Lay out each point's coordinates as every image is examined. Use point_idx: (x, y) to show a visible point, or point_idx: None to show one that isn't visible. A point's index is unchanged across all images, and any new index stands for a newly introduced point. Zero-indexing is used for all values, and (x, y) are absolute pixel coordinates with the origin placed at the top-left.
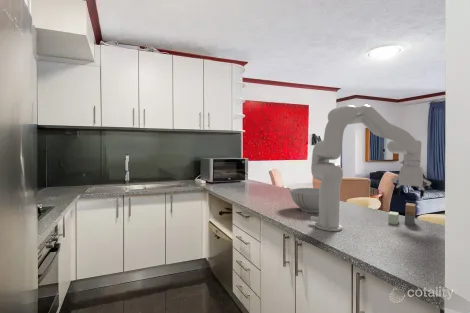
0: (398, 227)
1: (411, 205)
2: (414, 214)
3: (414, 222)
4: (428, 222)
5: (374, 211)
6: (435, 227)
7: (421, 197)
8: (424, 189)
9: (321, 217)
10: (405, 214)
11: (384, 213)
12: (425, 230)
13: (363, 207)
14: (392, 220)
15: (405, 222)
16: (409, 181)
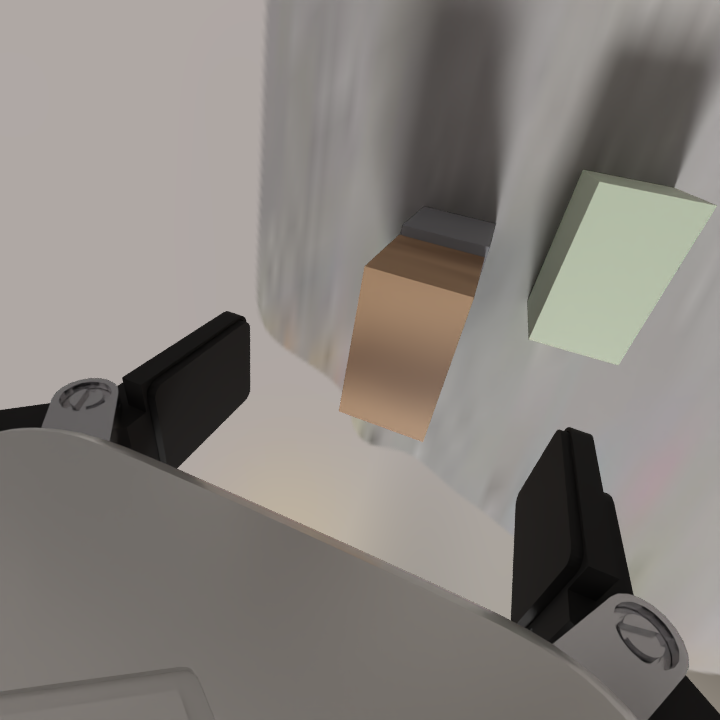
0: (620, 13)
1: (399, 293)
2: (395, 239)
3: None
4: (309, 357)
5: None
6: (280, 227)
7: (226, 313)
8: (66, 387)
9: None
10: (482, 257)
11: None
12: (360, 54)
13: None
14: (639, 182)
15: (488, 227)
16: (210, 700)
